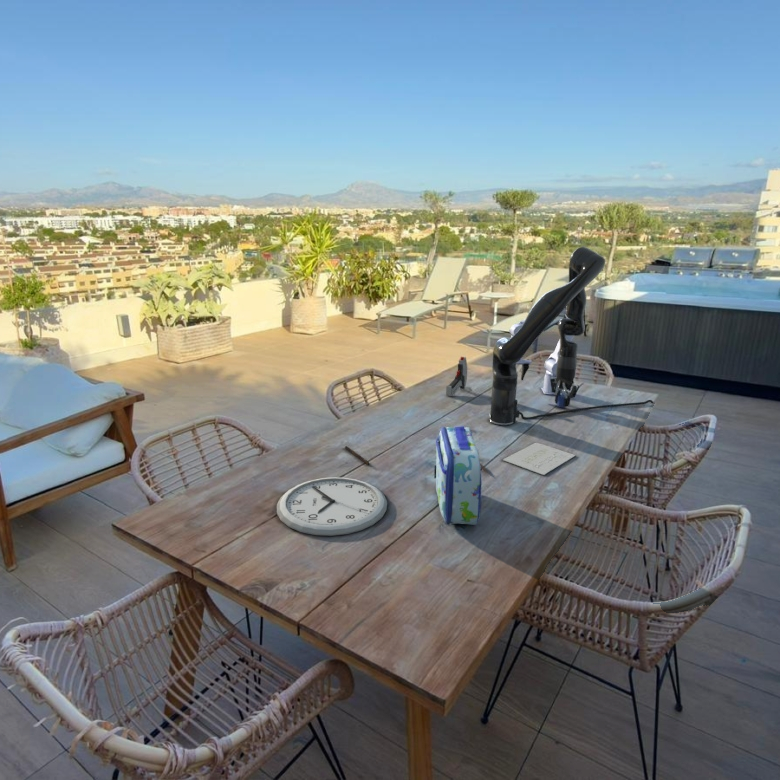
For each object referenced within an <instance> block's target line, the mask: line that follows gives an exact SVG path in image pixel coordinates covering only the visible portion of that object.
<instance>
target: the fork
mask: <svg viewBox="0 0 780 780" xmlns="http://www.w3.org/2000/svg"><path fill="white" fill-rule="evenodd" d="M480 467H481V471H483V472H485V473H486V474H488V470H486V468H485V467H484V466H483V464H482V463H480Z"/></svg>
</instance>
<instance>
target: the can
mask: <svg viewBox="0 0 780 780" xmlns="http://www.w3.org/2000/svg"><path fill="white" fill-rule="evenodd" d="M564 401H565V394H562V395H558V399H557V403H556V406H557V407H559V408H566V407H565V406H564Z"/></svg>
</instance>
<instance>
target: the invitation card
mask: <svg viewBox="0 0 780 780" xmlns="http://www.w3.org/2000/svg"><path fill="white" fill-rule="evenodd" d="M576 456H577V455H576V454H573V453H570V452H567V451H565V450H561V449H558V448H555V447H552V446H549V445H546V444H543V443H539V442H534V443H532V444H529V445H528V446H526V447H524V448H522V449H520V450H518V451H516V452H514V453H512V454H510V455H509V456H507V457H505V458H503V459H502V461H503V462H506V463H509V464H511V465H514V466H518V467H520V468H523V469H525V470H528V471H531V472H534V473H536V474H539V475H541V476H545V475H547V474H548V473H550V472H552V471H554V469H556V468H558V467H559V466H561V465H563V464H564V463H566V462H568V461H570V460H571V459H572V458H574V457H576Z"/></svg>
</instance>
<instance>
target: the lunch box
mask: <svg viewBox="0 0 780 780" xmlns="http://www.w3.org/2000/svg"><path fill="white" fill-rule="evenodd" d="M435 444H436V448H435V449H436V452H435V454H436V456H435V463H436V464H434V474H433V475H434V479H435V491H436V495H437V502H438V508H439V511H440V515H441V517H442V519H443V521H444V523H445V524H446V525H448V526H449V525H454V524H456V525H457V524H459V525H460V524H461V525H470V526H471V525H473V526H474V525H475V526H476V525H477V524H478V523H479V520H480V516H481V515H480V514H481V503H482V469H481V467H480V464H481V463H480V455H479V450H478V448H477V446H476V443H475V441H474V437H473V433H472V430H471V428H470V427H469V426H468V427H465V426H463V425H462V426H461V425H460V426H454V427H453V426H452V427H450V426H449V427H445V426H442V427H440V431H439V432H438V437H437V438H436V440H435Z"/></svg>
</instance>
